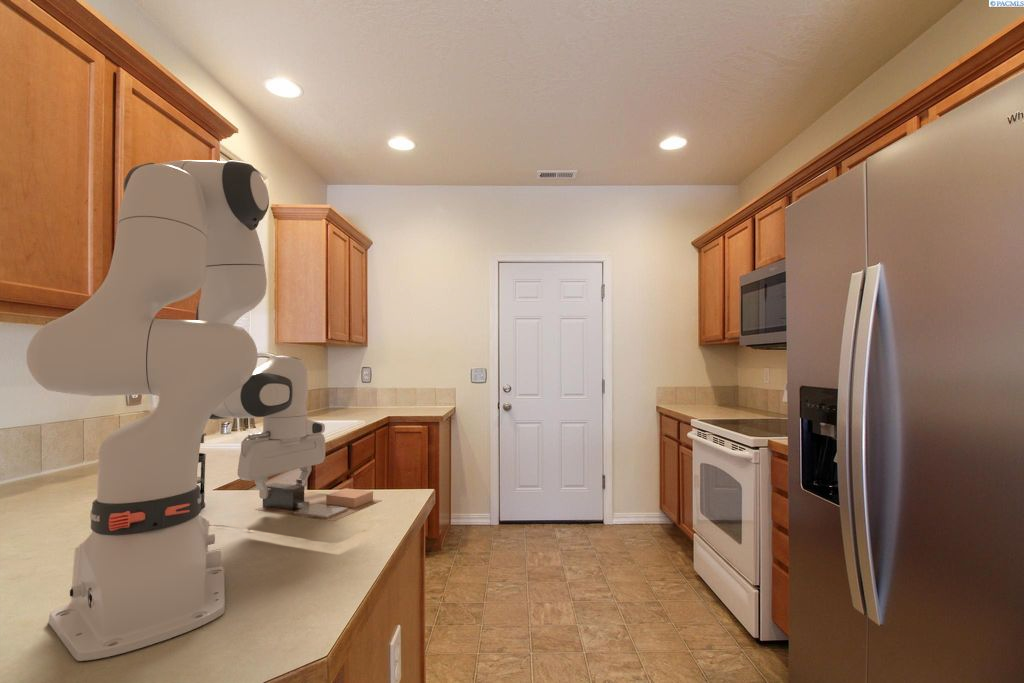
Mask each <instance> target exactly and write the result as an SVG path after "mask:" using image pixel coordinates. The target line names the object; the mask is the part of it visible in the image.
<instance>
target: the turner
mask: <svg viewBox="0 0 1024 683" xmlns="http://www.w3.org/2000/svg"><path fill="white" fill-rule="evenodd" d="M266 486H267V488H268V489H269V488H270V489H272V492H271V497H268V498H265V499H262V507H268V508H275V509H282V510H289V511H294V510H297V509H300V510H297V511H294V514H297V515H304V516H310V517H317V518H324V519H328V518H331V517H333V516H336V515H338V514H340V513H343V512H345V511H348V508H346V507H338V506H331V505H323V504H314V505H311V506H309V501H304V493H305V487H304V486H299V485H296V484H290V483H289V484H288V483H280V482H272V483H269V484H266Z"/></svg>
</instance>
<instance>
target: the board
mask: <svg viewBox="0 0 1024 683" xmlns="http://www.w3.org/2000/svg"><path fill="white" fill-rule="evenodd" d="M328 494H329V493H324V492H323V493H321V492H313V491H308V492H304V501H309V506H311V505H314V504H323V505H328V504H326V495H328ZM382 501H383V500H381V499H374V498H373V500H372V501H370V502H368V503H365V504H363V505H360V506H358V507H356V508H351V507H346V508H348V511H345V512H343V513H340V514H338V515H336V516H333V517H331V518H328V519H324V518H317V517H310V516H304V515H297V514H294V511H297V510H300V509H297V510H294V511H289V510H282V509H275V508H268V507H263V506H261V507H258V508H256V509H254V510H255V511H262V512H269V513H275V514H282V515H287V516H294V517H296V516H297V517H303V518H309V519H316V520H323V521H328V522H329V521H330V522H335V521H337V520H340V519H342V518H344V517H347V516H349V515H352V514H354V513H357V512H359V511H361V510H363V509H366V508H368V507H370V506H373V505H375V504H378V503H380V502H382ZM331 506H336V505H331ZM338 507H344V506H338Z"/></svg>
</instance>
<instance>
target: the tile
mask: <svg viewBox="0 0 1024 683" xmlns="http://www.w3.org/2000/svg"><path fill="white" fill-rule="evenodd" d="M327 494H328V495H326V504H328V505H336V506H344V507H351V508H356V507H358V506H360V505H363V504H365V503H368V502H370V501H372V500H373V499H374V491H372V490H366V489H365V490H364V489H357V488H356V489H355V488H348V487H347V488H346V487H345V488H342V489H339V490H337V491H334V492H331V493H327Z"/></svg>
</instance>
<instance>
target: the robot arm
mask: <svg viewBox="0 0 1024 683" xmlns="http://www.w3.org/2000/svg"><path fill="white" fill-rule="evenodd" d="M269 205H270V196H269V190H268V187H267V184H266V180H265V178H264V177H263V175H262V172H260V171H259V170H258V169H257V168H256V167H255V166H254V165H253V164H251V163H248V162H244V161H240V160H239V161H237V160H230V159H229V160H227V161H221V160H220V161H219V160H218V161H217V160H193V159H185V160H184V159H182V160H173V161H172V160H171V161H165V162H160V163H156V162H148V163H143V164H139V165H137V166H135V167H133V168H131V169H130V170H129V172H128V173H127V174H126V176H125V179H124V180H123V195H122V198H121V202H120V207H119V212H118V216H117V217H118V218H117V225H116V234H115V242H114V249H113V253H112V258H111V262H110V267H109V270H108V273H107V275H106V277H105V279H104V281H103V282H102V284H101V285H100V286H99V288H98V289H97V290H96V291H95V292H94V294H93V295H91V297H89V298H88V300H86V301H85V302H84V303H82V304H81V305H80V306H77V307H76V308H75V309H74V310H73V311H71V312H69V313H66V314H65V315H62V316H61V317H58V318H56V319H54V320H51V321H49V322H48V323H46V324H45V325H43V326H42V327H41V328H39V329H38V330H37V331H36V332H35V334H34V335H33V337H31V340H30V342H29V344H28V346H27V349H26V356H25V357H26V364H27V367H28V370H29V372H30V375H31V376H32V377H33V379H34V380H35V381H36V382H37V383H38V384H39V385H40V386H41V387H42V388H44V389H46V390H47V391H49V392H55V393H56V392H57V393H63V394H64V393H65V394H70V395H80V396H87V397H88V396H89V397H104V396H105V397H107V396H108V397H109V396H110V397H112V396H113V397H114V396H134V395H135V396H140V395H141V396H142V395H152V396H158V403H157V406H156V408H155V410H154V411H153V412H151V413H149V414H148V415H145V416H143V417H141V418H138V419H136V420H133V421H130V422H128V423H127V424H124V425H123V426H121V427H118V428H117V429H115V430H113V431H112V432H110V434H108V435H107V436H106V437H105V438H104V439H103V441H102V442H101V445H100V447H99V450H98V466H97V468H98V469H97V487H96V488H97V490H96V498H95V499H94V500H93V501H92V506H91V510H90V514H89V517H90V529H91V533H90V535H88V537H86V539H85V540H83V541H82V542H80V544H79V545H78V546H76V547H75V548H74V553H73V555H74V556H73V568H72V580H71V581H72V582H71V587H70V590H69V597H70V602H68V603H66V604H64V605H61V606H60V607H57V608H56V609H54V610H52V611H51V612H49V617H48V624H49V626H51V628H52V629H53V631H54V632H55V634H56V636H58V638H59V639H60V640H61V642H62V643H63V645H64V646H65V647H66V648H67V651H69V653H70V654H71V655H72V657H73V658H74V659H75V660H76V661H79V662H82V661H83V662H84V661H92V660H99V659H103V658H104V659H105V658H108V657H111V656H112V657H113V656H117V655H120V654H124V653H127V652H128V653H129V652H131V651H135V650H139V649H141V648H144V647H149V646H151V645H153V644H157V643H160V642H164V641H166V640H170V639H171V638H174V637H177V636H179V635H180V636H181V635H183V634H185V633H188V632H190V631H193V630H194V629H197V628H199V627H201V626H204V625H206V624H208V623H210V622H212V621H214V620H216V619H217V618H219V617H220V616H222V615H223V614H225V612H226V582H225V578H226V574H225V573H226V572H225V568H224V566H222V565H221V562H222V560H221V559H222V550H221V548H217V549H212V550H209V546H210V545H214V544H216V543H215V541H216V536H215V535H216V534H215V533H214V534H213V533H212V534H209V533H210V531H209V529H210V527H209V526H210V521H209V520H207V519H206V518H205V517H202V516H201V515H200V514H201V512H202V510H201V494H200V485H198V484H197V477H198V469H199V468H198V467H199V463H198V459H199V453H200V448H201V444H202V443H201V438H202V434H203V433H204V431H205V428H206V426H207V423H208V421H209V420H222V419H223V420H225V419H260V418H263V419H262V423H263V424H262V432H257V433H250V434H248V435H247V436H246V437H245V438H244V439H243V440H242V441H241V443H240V454H239V458H238V464H237V466H238V467H237V476H238V478H239V479H240V480H241V481H242V480H243V481H254V485H255V486H256V488H257V489H258V490H259V498H260V499H262V500H263V499H265V498H268V497H271V492H272V489H270V488H269V489H268V488H267V486H266V485H267V484H266V483H267V482H268V480H269V478H268V477H271V476H275V475H280V474H282V473H283V474H284V473H287V472H291V471H295V470H299V471H301V472H300V475H299V478H296V479H295V482H296V484H295V485H299V486H304V488H305V487H307V486H308V479H309V476H310V475H311V472H312V466H315V465H319V464H322V463H323V462H324V460H325V458H326V439H325V435H324V434H323V433H324V432H325V429H326V428H325V427H326V426H325V423H323V422H318V421H315V420H312V419H308V410H307V399H308V395H309V379H308V371H307V366H306V363H305V362H304V361H303V360H302V359H300V358H298V357H295V356H290V355H289V356H288V355H287V356H286V355H273V356H269V357H268V359H267V360H266V361H265V362H263V363H262V364H261V365H259V366H257V364H258V358H259V357H258V354H259V353H258V348H257V345H256V343H255V341H254V339H253V337H252V336H251V335H250V334H251V333H249V332H248V331H247V330H246V329H245V328H243V327H241V326H236V325H235V323H236V322H238V320H239V319H241V317H243V316H244V315H246V314H247V313H249V312H250V311H253V309H255V308H256V307H257V306H258V305H259V304H260V303H261V302H262V301H263V300H264V297H265V295H266V294H267V287H268V286H267V285H268V284H267V283H268V282H267V281H268V280H267V272H266V265H265V258H264V257H265V256H264V254H263V249H262V245H261V241H260V238H259V234H258V231H257V227H258V226H259V224H260V221H262V220H263V219H264V217H265V216H266V214H267V212H268V210H269ZM200 290H201V291H200ZM198 291H200V298H199V302H198V304H197V307H196V311H195V319H173V318H172V319H169V318H156V315H157V314H158V312H160V311H161V310H162V309H163V308H165V307H166V306H168V305H170V304H173V303H176V302H179V301H181V300H185V299H187V298H190V297H191V296H193V295H195V294H196V293H197V292H198Z"/></svg>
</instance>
